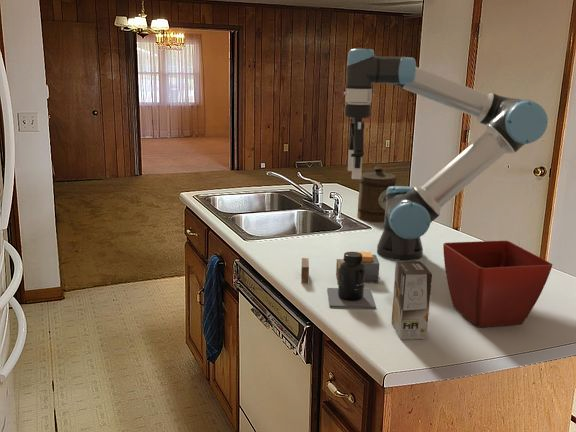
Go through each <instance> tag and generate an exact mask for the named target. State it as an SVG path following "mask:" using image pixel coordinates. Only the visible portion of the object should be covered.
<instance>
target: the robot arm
mask: <svg viewBox="0 0 576 432" xmlns="http://www.w3.org/2000/svg"><path fill="white" fill-rule="evenodd" d="M346 62H347V64H346V86H345V88H346V91H344V92H343V95H344V96H345V102H346V104H345V105H344V116H345V117H346V118H350V122H349V138H348V139H349V140H348V143H347V145H348V156H347V157H348V159H347V171H348V172H351V179H352V180H360V179H361V174H362V173H363V172H362V170H363V156H364V155H365V153H364V133H365V132H364V130H365V122H363V118H364V119H367V118H370V117H371V113H372V112H371V111H372V110H371V109H372V107H371V103H372V98H373V95H372V93H373V84H387V85H388V84H389V85H390V84H391V85H393V86H395V87H398V88H401V89H404V90H406V91H408V92H410V93H414V94H416V95H418V96H421V97H423V98H426V99H428V100H431V101H433V102H436V103H439V104H441V105H443V106H446V107H449V108H452V109H454V110H456V111H459V112H461V113H463V114H467V115H469V116H471V117H473V118H476V121H477V122H478V123H479V124H483V125H485V131H484V133H482V134H481V135H480V136H479V137H478V138H476V140H474V141H473V142H472V143H471V144H470V145H468V146H467V147H466V148H465V149H464V150H462V151H461V152H460V153H459V154H458V155H457V156H456V157H455V158H453V159H452V160H451V161H449V163H448V164H446V165H445V166H444V167H443V168H442V169H440V170H438V172H437V173H435V175H434V176H432V177H431V178H429V179H428V180H427V181H426V182H425V183H424V184H423V185H421V186H405V185H404V186H403V185H395V186H390V187H388V188H387V192H386V206H385V219H384V222H383V232H382V233H381V236H380V238H379V241H378V243H377V246H376V253H377V254H378V255H379V256H380V257H382V258H386V259H388V260H392V261H393V260H394V261H417V260H419V259H421V258H422V257H423V253H424V249H423V244H422V240H421V237H423V236H424V235H425V234H426V233H427V232H428V230H429V228H430V227H431V223H432V222H433V221H435V220H436V219H437V218H438V217H440V216H441V209H442V208H443V207H444V206H445V205H446V204H448V203H449V202H450V201H451V200H452V199H453V198H454V197H456V196H457V195H458V194H459V193H461V191H463V190H464V189H466V187H468V186H469V185H470V184H471V183H472V182H474V181H475V180H476V179H478V177H480V176H481V175H482V174H483V173H484V172H485V171H487V170H488V169H489V168H491V167H492V166H493V165H494V164H495V163H496V162H497V161H498V160H500V159H501V158H502V157H504V156H505V155H506V154H509V155H510V154H511V155H512V154H513V155H514V154H516V152H518V151H519V150H520V149H521V148H523V146H525V145H528V144H532V143H534V142H536V141H538V140H540V138H542V137H543V135H544V134H545V133H546V131H547V129H548V123H549V122H548V121H549V119H548V118H549V117H548V114H547V112H546V110H545V108H544V107H543V106H542V105H540V104H539V103H538V102H535V101H534V100H531V99H521V98H515V97H507V96H502V95H499V94H496V93H495V92H490V93H487V94H486V93H484V92H481V91H479V90H477V89H474V88H472V87H469V86H466V85H464V84H461V83H459V82H456V81H454V80H451V79H449V78H446V77H443V76H441V75H438V74H435V73H433V72H430V71H428V70H425V69H423V68H420V67H417V63H416V59H415V58H414V57H408V56H407V57H406V56H377V55H375V51H374V49H371V48H351V49H349V51H348V53H347V61H346Z"/></svg>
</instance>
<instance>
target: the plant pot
mask: <svg viewBox="0 0 576 432" xmlns="http://www.w3.org/2000/svg"><path fill="white" fill-rule="evenodd" d="M442 245H443V248H442V249H443V261H444V270H445V277H446V282H447V287H448V290H449V296H450V299H451V303H452V306H453V308H454V309H455V310H457V311H458V312H459V313H460V314H461V315H462V316H463V317H464V318H466V319H467V320H468V321H469V322H470V323H471V324H473V325H474V326H475V327H478V328H486V327H488V328H490V327H503V326H504V327H505V326H513V325H515V326H517V325H523V324H524V322H525V321H526V319H527V318H528V317H529V315H530V313H531V311H532V310H533V309H534V307H535V305H536V304H537V302H538V300H539V298H540V296H541V294H542V292H543V290H544V288H545V286H546V283H547V281H548V278H549V275H550V273H551V271H552V267H553V263H551V262H549V261H547V260H546V259H544V258H541V257H540V256H538V255H536V254H534V253H532V252H530V251H528V250H527V249H524V248H522V247H521V246H519V245H517V244H515V243H513V242H511V241H509V240H486V241H485V240H484V241H483V240H482V241H457V242H456V241H455V242H452V241H451V242H443V244H442Z"/></svg>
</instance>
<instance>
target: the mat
mask: <svg viewBox="0 0 576 432" xmlns="http://www.w3.org/2000/svg"><path fill="white" fill-rule="evenodd" d="M326 291H327V298H328V305H329V306H328V307H329V308H333V309H335V308H338V309H360V310H361V309H365V310H366V309H369V310H371V309H372V310H377V305H376V302H375V299H374V296H373V292H372V290H371V289H370V288H364V292H363V297H362V299H360V300H357V301H348V300H344V299H342V298H340V297H339V296H338V287H327V290H326Z"/></svg>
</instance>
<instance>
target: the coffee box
mask: <svg viewBox="0 0 576 432" xmlns="http://www.w3.org/2000/svg"><path fill="white" fill-rule="evenodd" d="M394 267H395V270H394V282H393V296H392V297H393V298H392V311H391V312H392V313H391V325H392V327H393V329H394V330H395V332H396V334H397V335H398V337H399V339H400V340H426V339H427V335H428V323H429V315H430V313H429V312H430V304H431V290H432V281H433V280H432V279H433V273H432V272H431V271H430V270H429V268H428V267H427V266H425V264H424V263H423V262H422V261H421V260H408V261H403V260H395V266H394Z"/></svg>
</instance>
